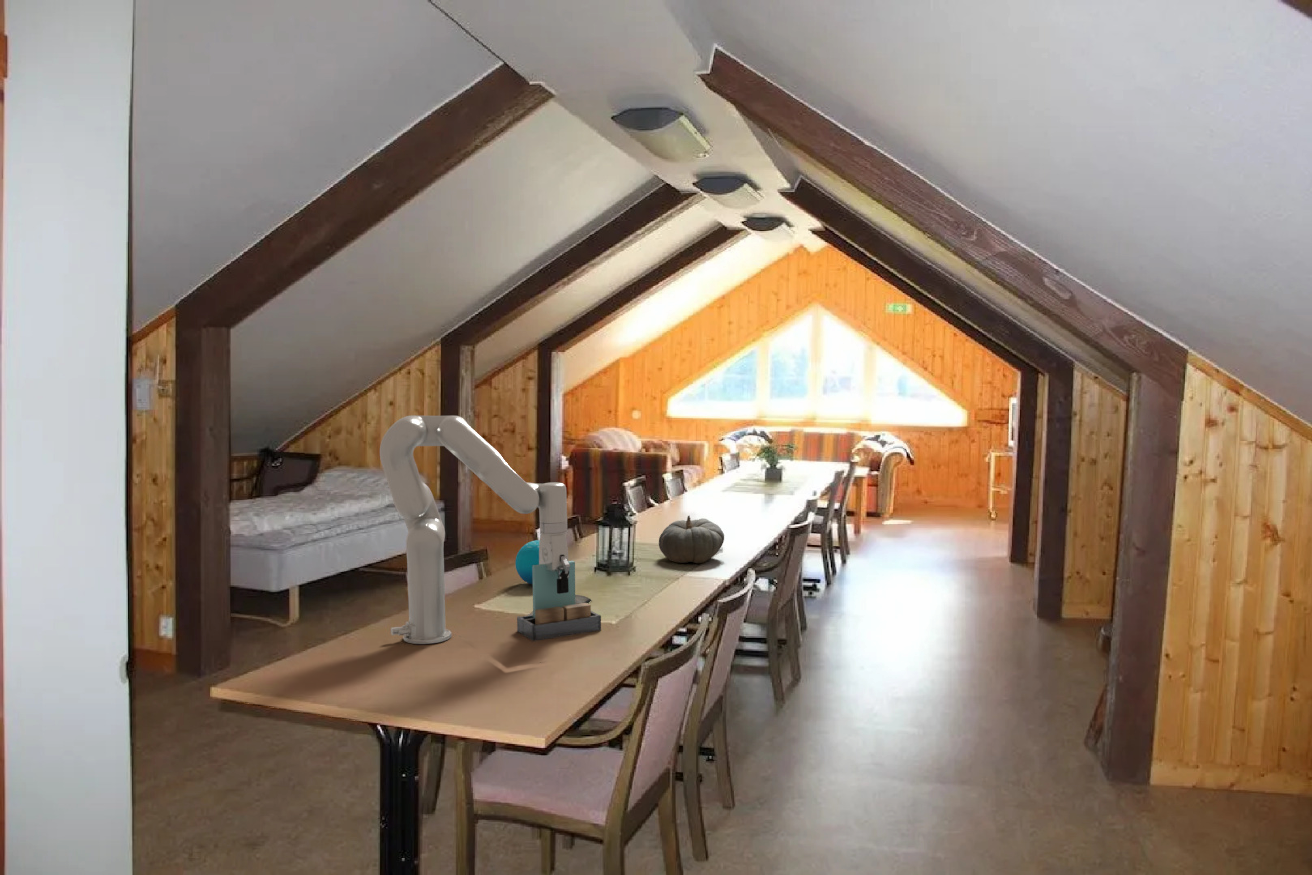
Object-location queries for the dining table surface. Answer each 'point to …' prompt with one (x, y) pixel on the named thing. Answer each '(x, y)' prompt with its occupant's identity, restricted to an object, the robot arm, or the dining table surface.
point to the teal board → (551, 588)
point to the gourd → (691, 540)
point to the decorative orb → (527, 560)
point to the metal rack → (557, 627)
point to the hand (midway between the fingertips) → (555, 589)
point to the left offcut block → (549, 615)
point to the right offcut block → (577, 611)
